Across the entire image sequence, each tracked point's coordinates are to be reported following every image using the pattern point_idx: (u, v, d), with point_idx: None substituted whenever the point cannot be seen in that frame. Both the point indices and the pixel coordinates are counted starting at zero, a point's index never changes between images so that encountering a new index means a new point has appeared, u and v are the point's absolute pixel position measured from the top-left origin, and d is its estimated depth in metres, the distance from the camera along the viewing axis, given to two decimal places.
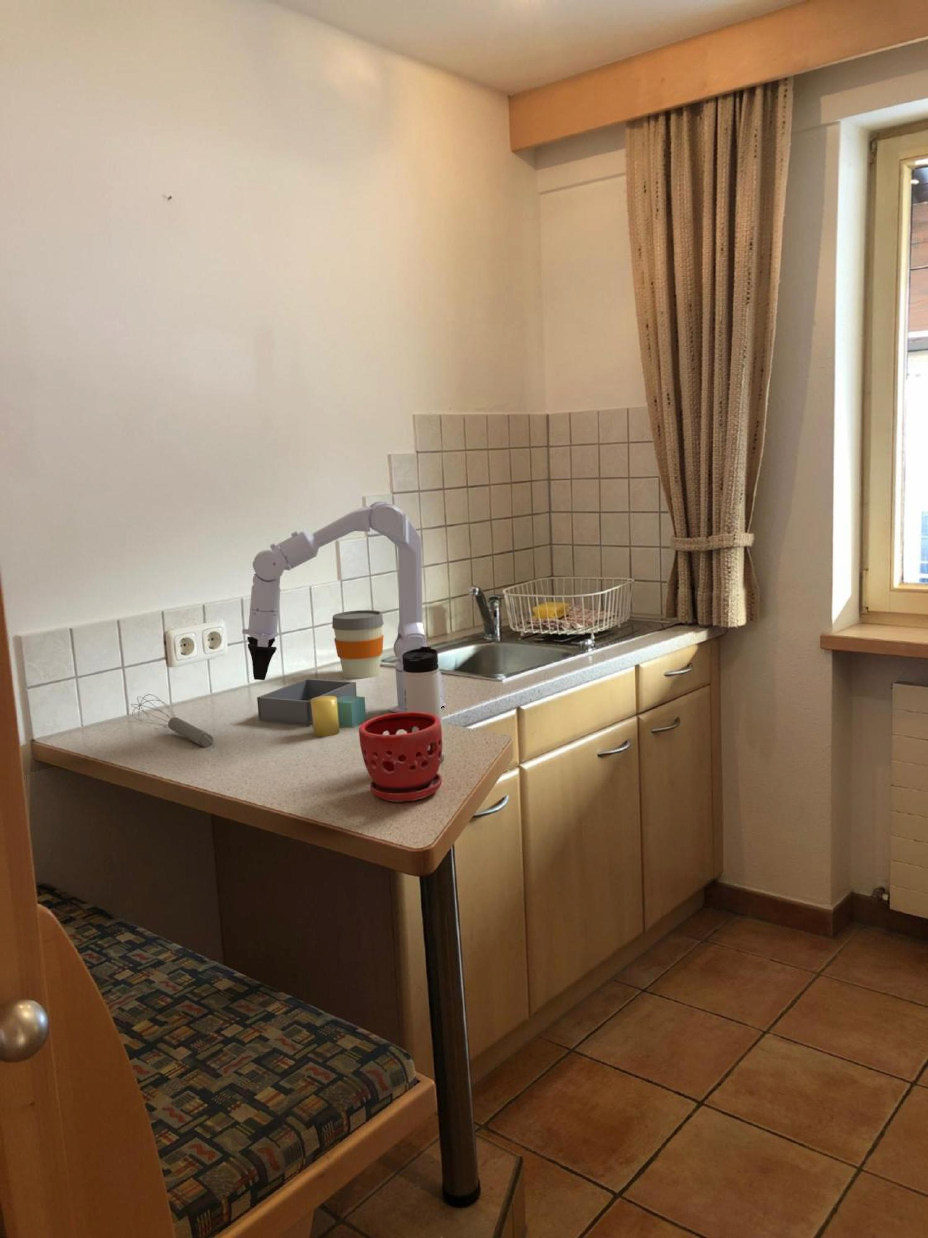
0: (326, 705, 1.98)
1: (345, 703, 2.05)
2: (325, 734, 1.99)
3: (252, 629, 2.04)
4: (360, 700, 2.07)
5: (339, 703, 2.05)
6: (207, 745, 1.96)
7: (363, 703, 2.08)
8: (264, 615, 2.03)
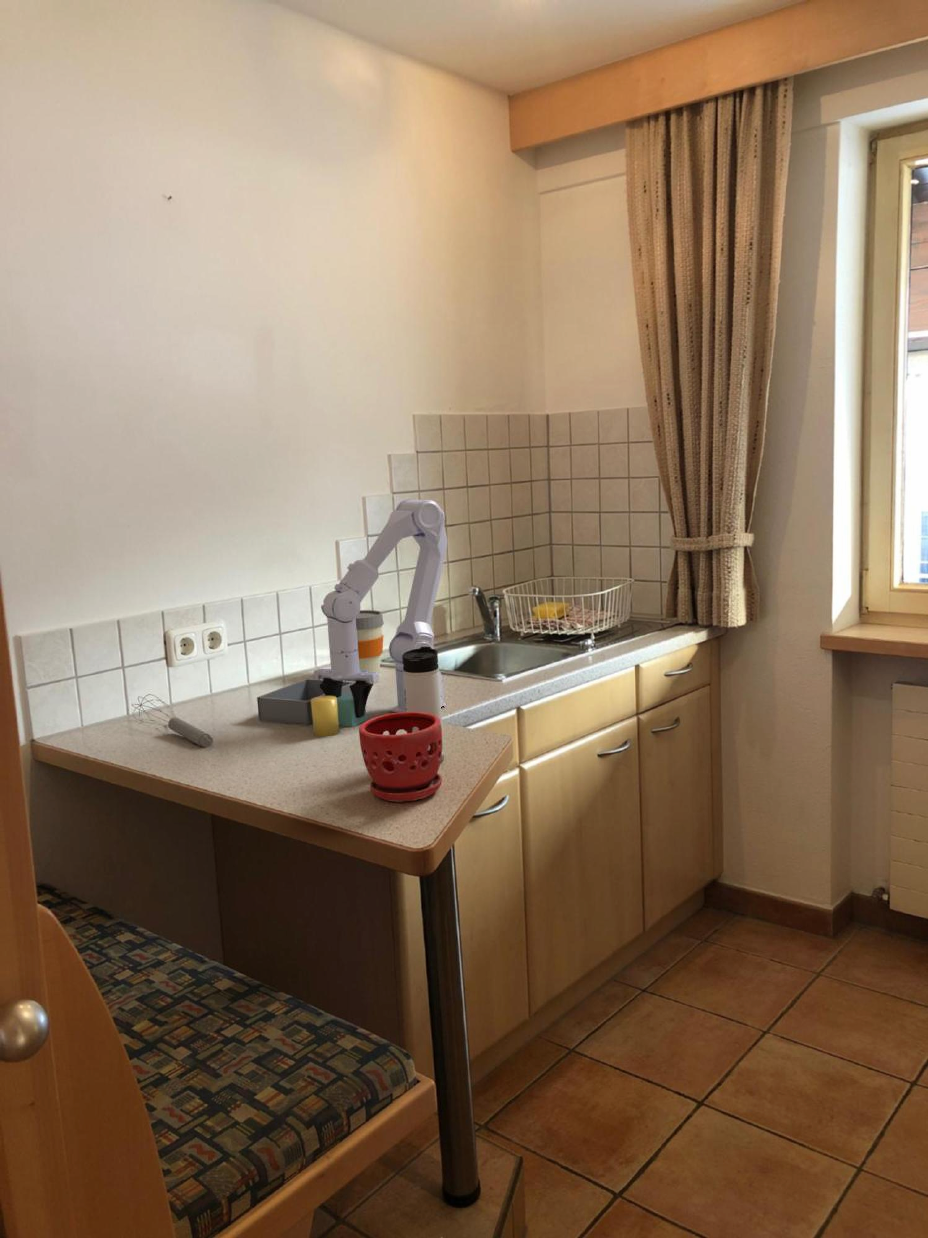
0: (326, 705, 1.98)
1: (345, 702, 2.05)
2: (325, 734, 1.99)
3: (347, 671, 2.04)
4: None
5: (339, 702, 2.05)
6: (206, 746, 1.96)
7: None
8: (355, 654, 2.05)
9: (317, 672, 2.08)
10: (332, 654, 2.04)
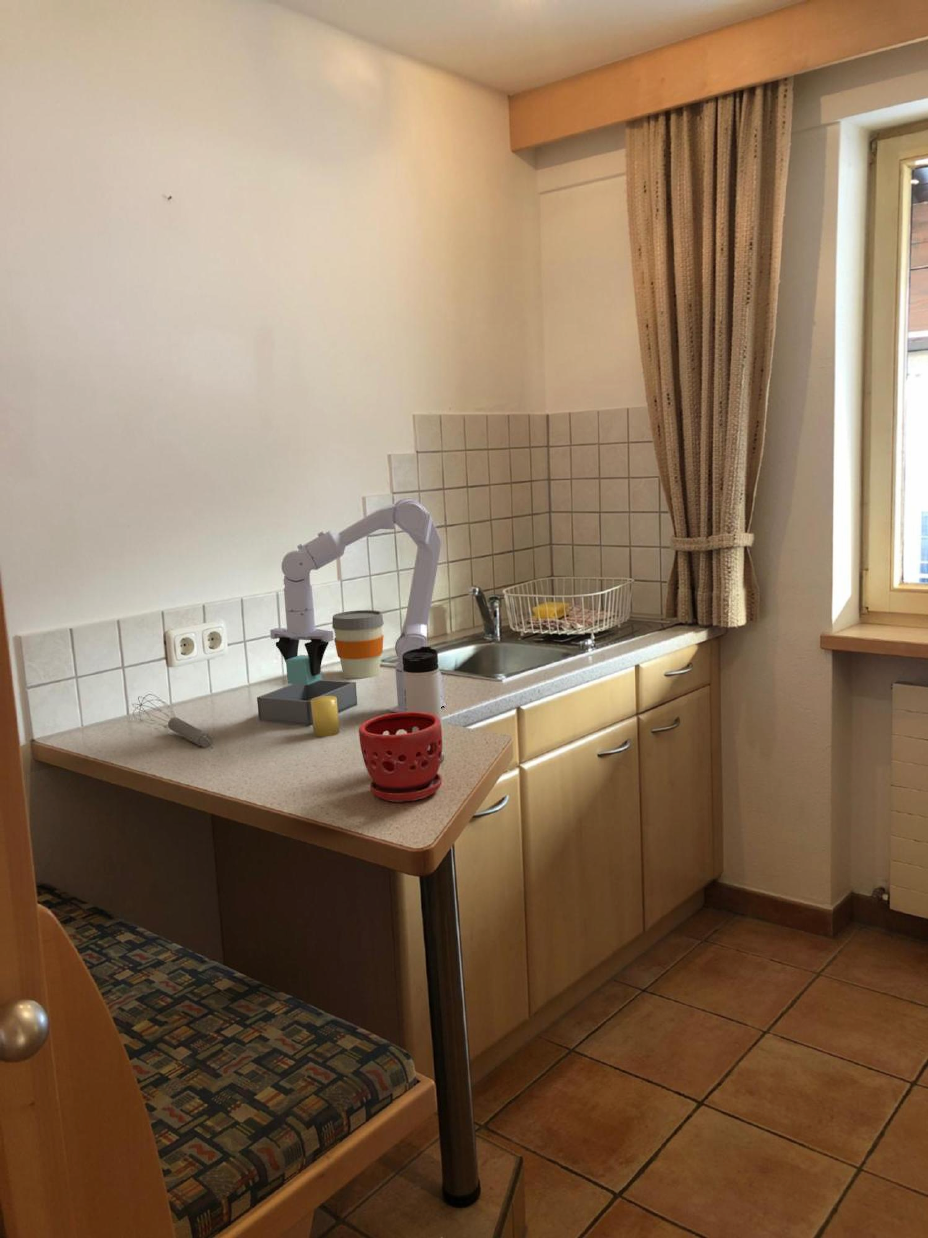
0: (326, 705, 1.98)
1: (300, 661, 2.08)
2: (325, 734, 1.99)
3: (302, 630, 2.07)
4: None
5: (294, 661, 2.09)
6: (206, 746, 1.96)
7: None
8: (311, 613, 2.08)
9: (273, 631, 2.12)
10: (288, 612, 2.07)
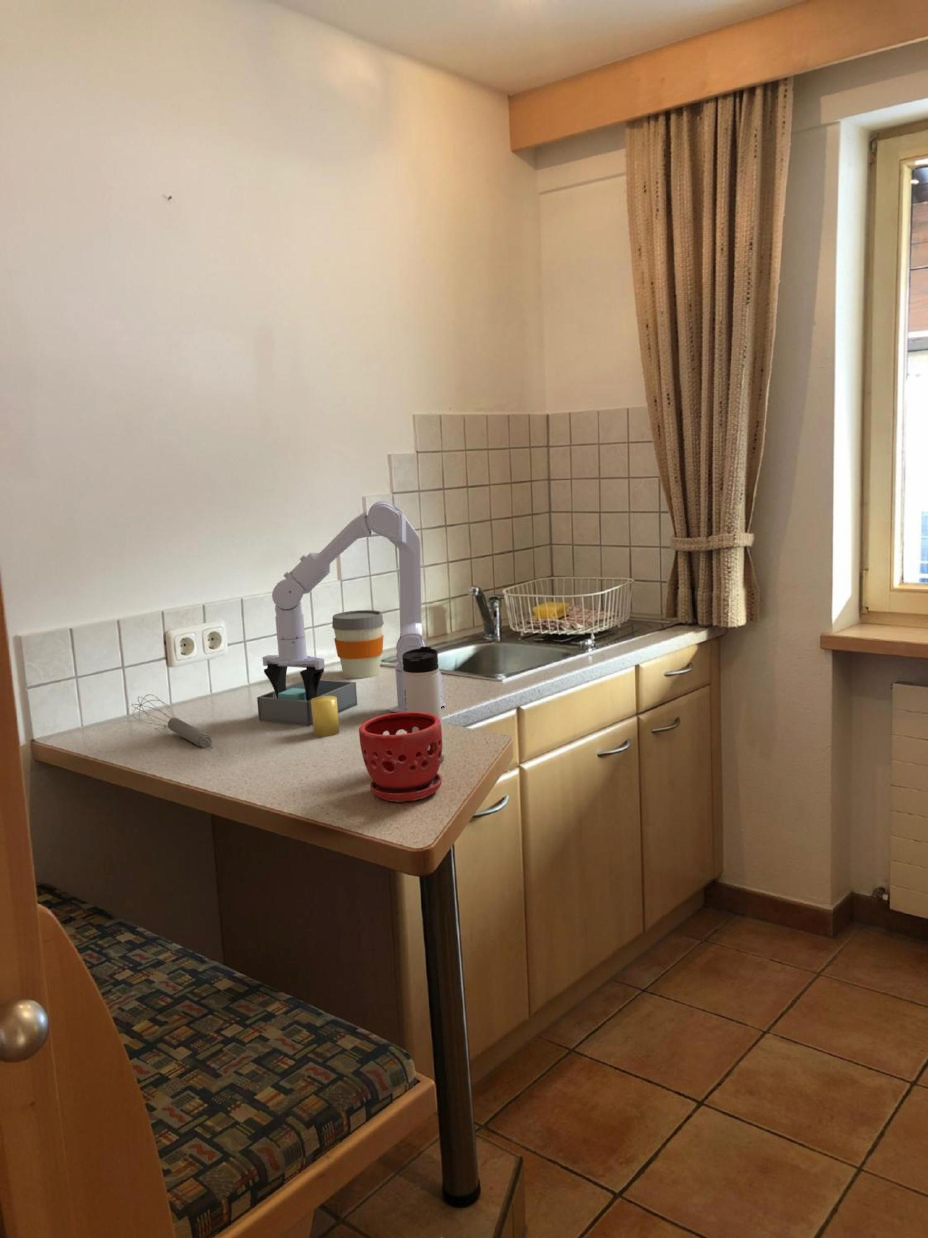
0: (326, 705, 1.98)
1: (292, 695, 2.11)
2: (325, 734, 1.99)
3: (294, 657, 2.09)
4: None
5: (286, 695, 2.11)
6: (205, 746, 1.96)
7: None
8: (302, 641, 2.10)
9: (266, 658, 2.14)
10: (279, 640, 2.10)
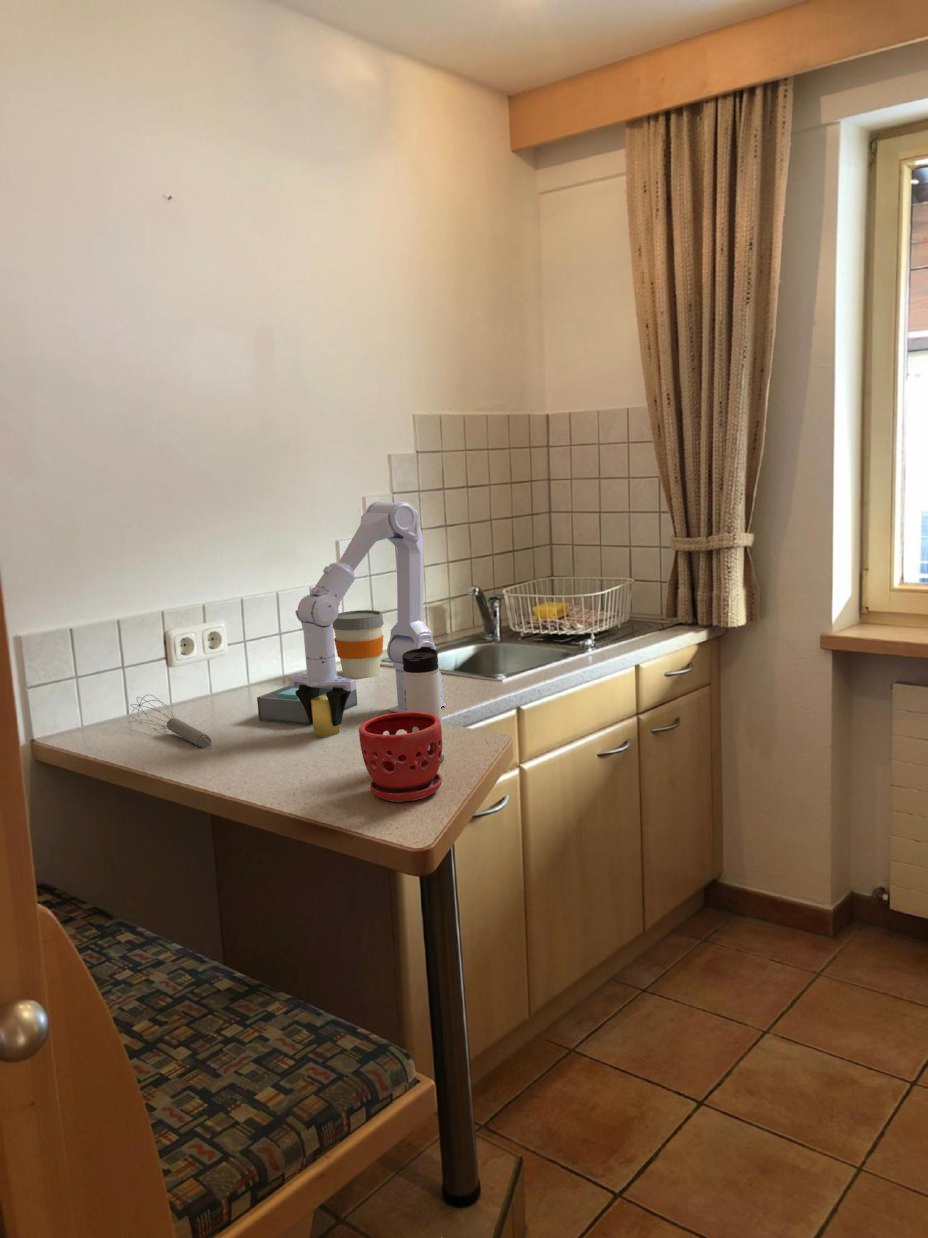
0: (326, 705, 1.98)
1: (292, 695, 2.11)
2: (325, 734, 1.99)
3: (323, 678, 1.97)
4: None
5: (286, 695, 2.11)
6: (205, 746, 1.96)
7: None
8: (332, 660, 1.97)
9: (293, 679, 2.01)
10: (308, 660, 1.97)
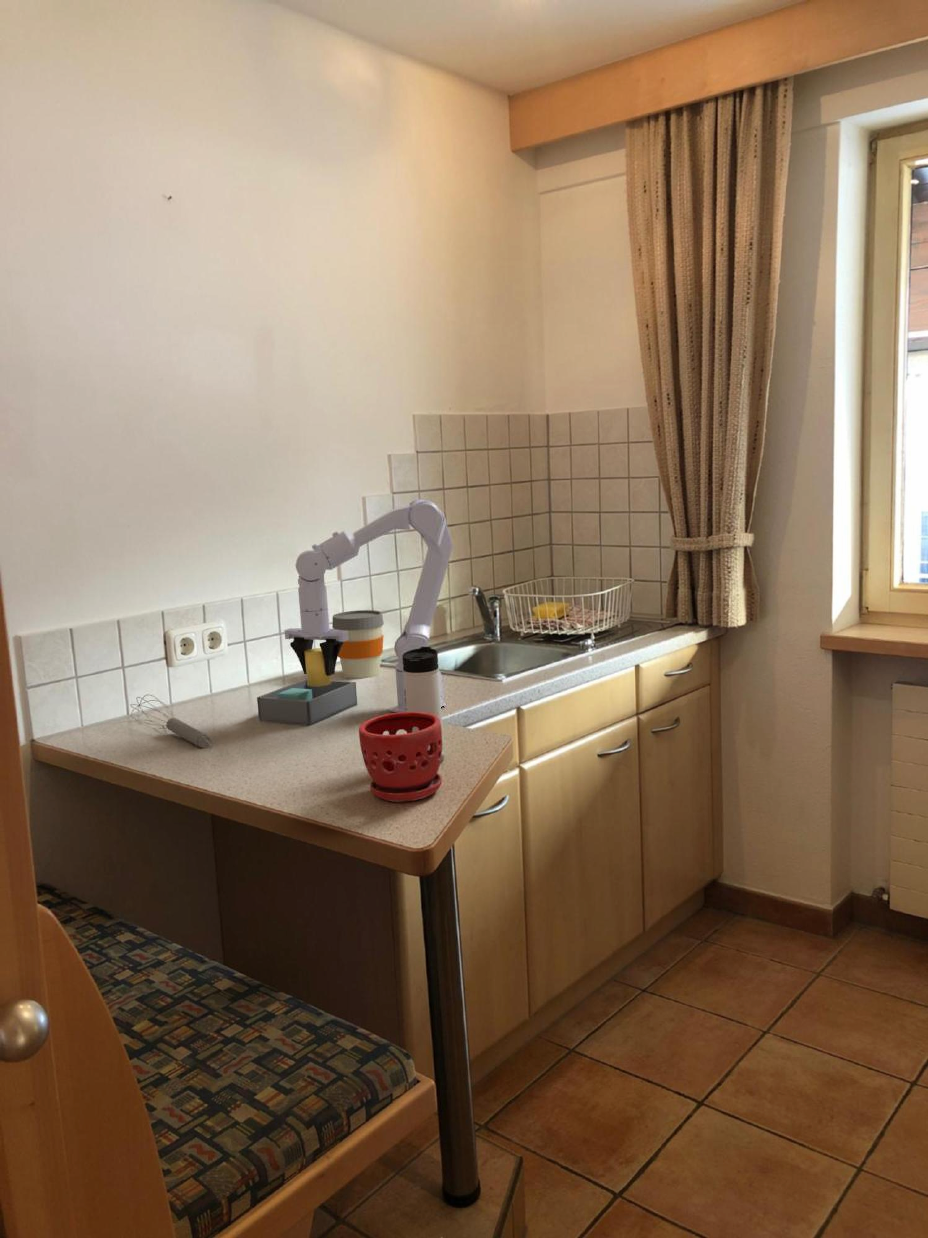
0: (320, 656, 2.08)
1: (292, 695, 2.11)
2: (319, 684, 2.09)
3: (317, 630, 2.07)
4: (307, 692, 2.13)
5: (286, 695, 2.11)
6: (204, 746, 1.96)
7: (310, 695, 2.14)
8: (325, 613, 2.08)
9: (288, 631, 2.12)
10: (302, 612, 2.07)
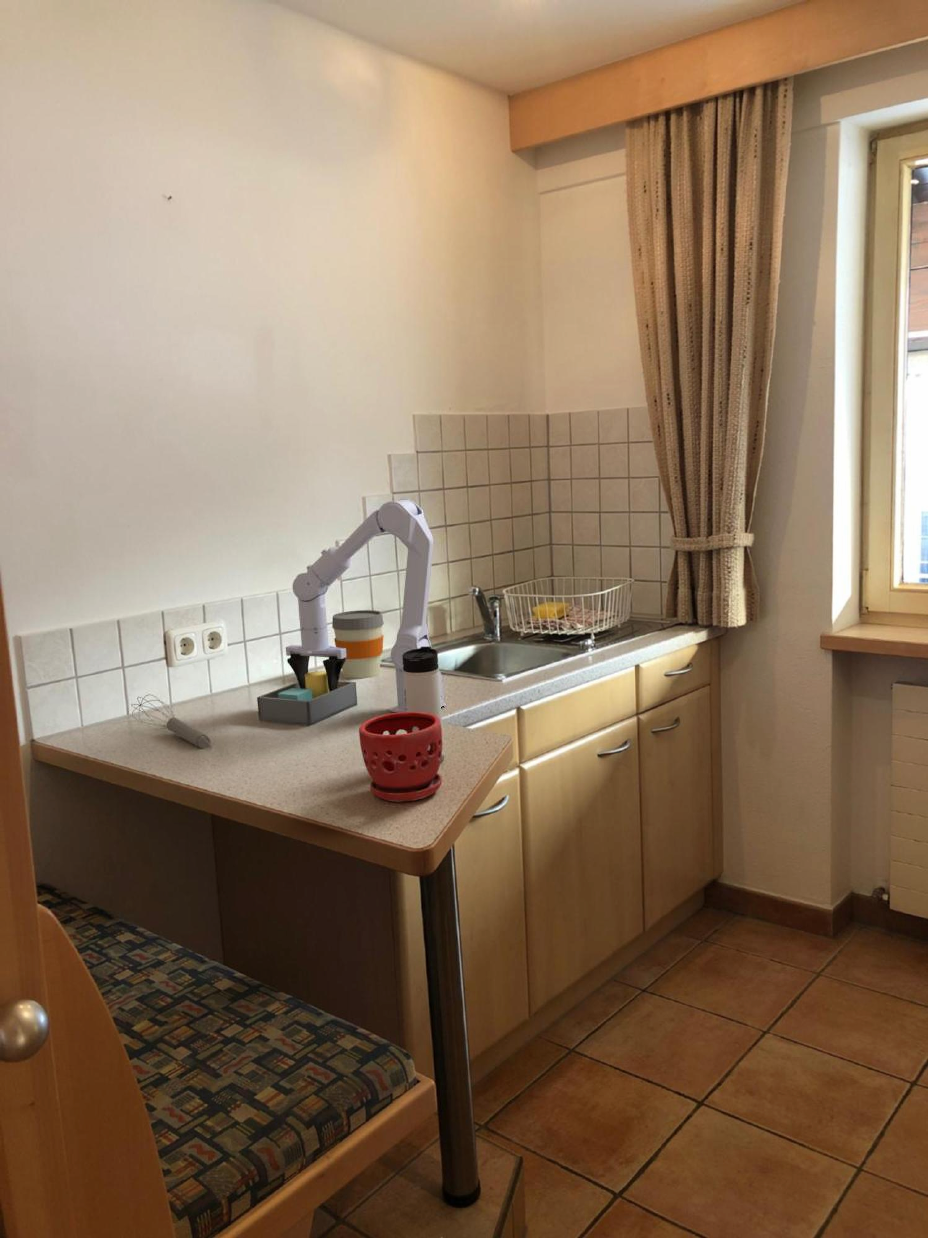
0: (320, 679, 2.18)
1: (292, 695, 2.11)
2: None
3: (316, 647, 2.16)
4: (307, 692, 2.13)
5: (286, 695, 2.11)
6: (204, 747, 1.96)
7: (310, 695, 2.14)
8: (324, 631, 2.17)
9: (289, 648, 2.21)
10: (302, 631, 2.16)
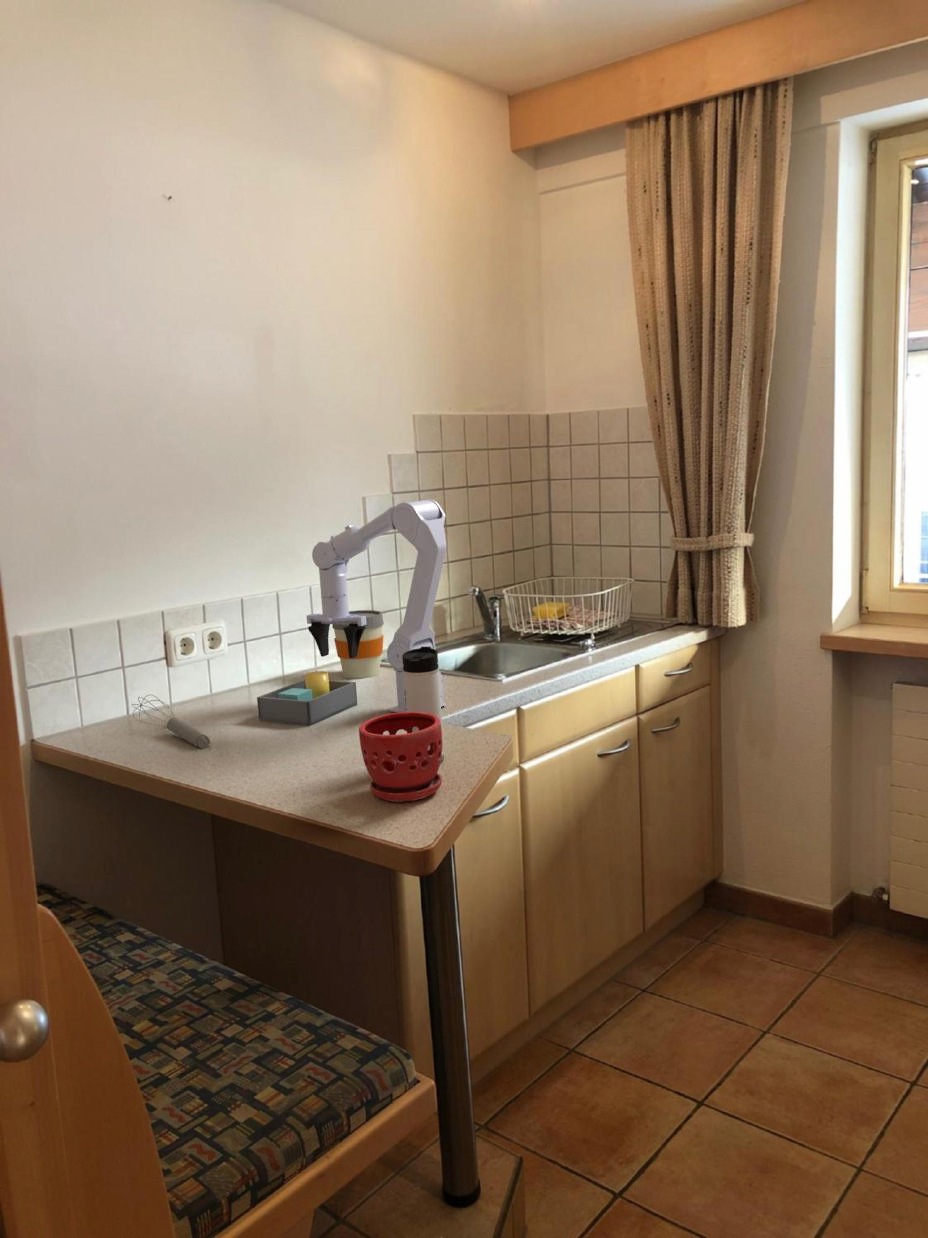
0: (320, 679, 2.18)
1: (292, 695, 2.11)
2: None
3: (337, 615, 2.21)
4: (307, 692, 2.13)
5: (286, 695, 2.11)
6: (203, 747, 1.95)
7: (310, 695, 2.14)
8: (345, 599, 2.22)
9: (310, 616, 2.26)
10: (323, 599, 2.21)
